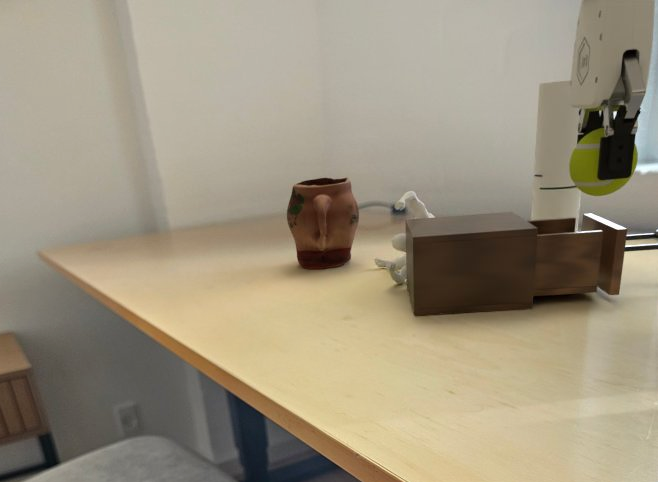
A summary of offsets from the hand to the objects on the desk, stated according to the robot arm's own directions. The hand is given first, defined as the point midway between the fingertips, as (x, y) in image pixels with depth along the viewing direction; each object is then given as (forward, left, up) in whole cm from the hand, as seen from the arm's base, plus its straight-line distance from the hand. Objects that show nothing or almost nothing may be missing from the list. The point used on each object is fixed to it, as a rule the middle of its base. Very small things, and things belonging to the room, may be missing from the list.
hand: (601, 173), depth 70 cm
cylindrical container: (-4, -33, -16) cm, 37 cm away
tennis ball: (0, 0, -2) cm, 2 cm away
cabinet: (+13, -11, -15) cm, 23 cm away
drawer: (-3, -11, -15) cm, 19 cm away
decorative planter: (+33, -39, -16) cm, 53 cm away
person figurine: (+17, -27, -16) cm, 36 cm away
